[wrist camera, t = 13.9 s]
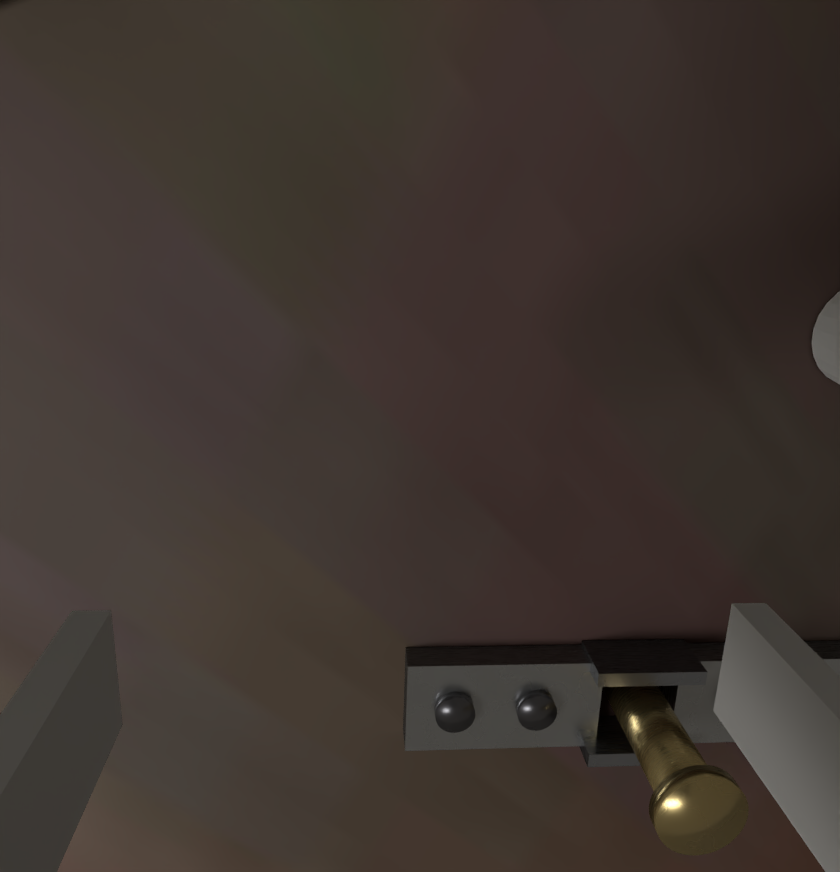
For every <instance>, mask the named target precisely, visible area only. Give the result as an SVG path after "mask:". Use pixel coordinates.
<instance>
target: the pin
mask: <svg viewBox="0 0 840 872" xmlns="http://www.w3.org/2000/svg"><path fill="white" fill-rule="evenodd" d="M604 692H605V695H606V697H607V699H608V701H609V703H610V705H611V707H612V709H613V711H614V713H615V715H616V717H617V719H618V721H619V723H620V725H621V727H622V729H623V731H624V733H625V735H626V737H627V739H628V741H629V743H630V745H631V747H632V749H633V751H634V753H635V755H636V757H637V759H638V761H639V763H640V765H641V767H642V769H643V771H644V773H645V775H646V777H647V779H648V781H649V783H650V785H651V787H652V789H653V791H654V793H653V794H652V797H651V799H650V804H649V815H650V818H651V821H652V823H653V825H654V827H655V829H656V831H657V834H658V836H659V838H660V839H661V841H662V842H663V843H664V844H665V846H667V847H668V848H669V849H671V850H673V851H675V852H677V853H680V854H685V855H703V854H708V853H711V852H714V851H716V850H719V849H721V848H723V847H724V846H726V845H727V844H729V843H730V842H731V841H733V840H734V839H735V838H736V837H737V836H738V835H739V833H740V832H741V831H742V829H743V827H744V826H745V823H746V821H747V817H748V803H747V800H746V797H745V796H744V794H743V792H742V791H741V789H740V788H739V786H738V785H737V783H736V782H735V780H734V779H733V777H732V776H731V775H730V774H729V773H727V772H726V771H724V770H723V769H720V768H718V767H715V766H710V765H707V764H706V763H705V761H704V760H703V758H702V756H701V755H700V753H699V751H698V750H697V748H696V747H695V745H694V743H693V742H692V740H691V738H690V737H689V735H688V734H687V732H686V730H685V729H684V727H683V726H682V724H681V722H680V721H679V719H678V717H677V716H676V714H675V713H674V711H673V709H672V708H671V706H670V705H669V703H668V701H667V700H666V698H665V696H664V695H663V693H662V692H661V690H660V688H659V687H658V686H628V687H604Z"/></svg>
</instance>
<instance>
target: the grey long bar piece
mask: <svg viewBox="0 0 840 872" xmlns="http://www.w3.org/2000/svg"><path fill="white" fill-rule="evenodd" d="M804 642H805V643H806V644H807V645H808V646H809V647H810V648H811V649H812V650H814V651H815V652H816V653H817V654H818V655H819V656H820V657H821V658H822V659H823V660H824V661H825V662H826V663H827V664H828V665H829V666H830V667H831V668H832V669H833V670H834V671H835V672H836V673H837V674H838V675H839V676H840V641H804ZM724 646H725V643H686V642H685V641H684V639H659V640H593V641H582V645H539V646H475V647H411V648H406V654H405V686H404V717H403V734H404V745H405V751H417V750H453V749H489V748H526V747H562V746H579V747H580V749H581V752H582V754H583V757H584V759H585V762H586V764H587V766H588V767H604V766H638V765H640V763H639V761H638V759H637V757H636V755H635V753H634V751H633V749H632V747H631V745H630V743H629V741H628V739H627V737H626V735H625V733H624V731H623V729H622V727H621V725H620V723H619V721H618V719H617V717H616V716H600V717H599V711H600V703H601V695H602V687H628V686H663V687H662V693H663V695H664V696H665V698H666V700H667V701H668V703H669V705H670V706H671V708H672V709H673V711H674V713H675V714H676V716H677V717H678V719H679V721H680V722H681V724H682V726H683V727H684V729H685V730H686V732H687V734H688V735H689V737H690V738H691V740H692V742H693V743H708V742H735V741H734V740H733V738H732V737H731V735H730V734H729V733H728V731H727V730H726V728H725V727H724V725H723V724H722V722H721V721H720V720H719V718H718V717H717V715H716V714H715V712H714V711H713V709H714V703H715V697H716V692H717V686H718V680H719V675H720V669H721V663H722V658H723V652H724Z"/></svg>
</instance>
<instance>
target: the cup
mask: <svg viewBox="0 0 840 872" xmlns="http://www.w3.org/2000/svg"><path fill="white" fill-rule="evenodd" d="M812 350H813V357H814V359H815V361H816V363H817V366H818V368H819V369H820V370H821V371H822V372H823V373H824V375H825V376H826V377H828V378H829V379H831V380H833V381H835V382H836V383H838V384H840V292H838V293H837V294H836V295H835V296H834V297H833V298H832V299H831V300H830V301H829V302H827V304H826V305H825V307H824V308H823V310H822V311H821V313H820V314H819V316H818V318H817V321H816V324H815V326H814V329H813V336H812Z"/></svg>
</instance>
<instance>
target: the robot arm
mask: <svg viewBox="0 0 840 872" xmlns="http://www.w3.org/2000/svg"><path fill="white" fill-rule="evenodd" d="M713 711H714V712H715V714H716V715H717V717H718V718H719V720H720V721H721V722H722V724H723V725H724V727H725V728H726V730H727V731H728V733H729V734H730V735H731V737H732V738H733V740H734V741H735V743H736V744H737V745H738V747H739V748H740V750H741V751H742V753H743V754H744V756H745V757H746V758H747V760H748V761H749V763H750V764H751V766H752V767H753V768H754V770H755V771H756V773H757V774H758V776H759V777H760V778H761V780H762V781H763V783H764V784H765V786H766V787H767V789H768V790H769V791H770V793H771V794H772V796H773V797H774V799H775V800H776V801H777V803H778V804H779V806H780V807H781V809H782V810H783V812H784V813H785V814H786V816H787V817H788V819H789V820H790V822H791V823H792V824H793V826H794V827H795V829H796V830H797V832H798V833H799V834H800V836H801V837H802V839H803V840H804V842H805V843H806V845H807V846H808V847H809V849H810V850H811V852H812V853H813V855H814V856H815V857H816V859H817V860H818V862H819V863H820V865H821V866H822V868H823V869H824V870H825V872H840V676H839V675H838V674H837V673H836V672H835V671H834V670H833V669H832V668H831V667H830V666H829V665H828V664H827V663H826V662H825V661H824V660H823V659H822V658H821V657H820V656H819V655H818V654H817V653H816V652H815V651H814V650H812V649H811V648H810V647H809V646H808V645H807V644H806V643H805V642H804V641H803V640H802V639H801V638H800V637H799V636H798V635H797V634H796V633H795V632H794V631H793V630H792V629H791V628H790V627H789V626H788V625H787V624H786V623H785V622H784V621H783V620H782V619H781V618H780V617H779V616H778V615H777V614H776V613H775V612H774V611H773V610H772V609H771V608H770V607H769V606H768V605H767V604H766V603H735V604H732V606H731V612H730V618H729V624H728V629H727V635H726V641H725V646H724V652H723V658H722V663H721V669H720V675H719V680H718V686H717V692H716V697H715V703H714V709H713ZM122 725H123V724H122V714H121V704H120V694H119V684H118V674H117V664H116V654H115V644H114V634H113V624H112V614H111V610H104V611H72V612H71V613H70V615H69V616H68V618H67V619H66V620H65V622H64V623H63V625H62V626H61V628H60V629H59V631H58V632H57V633H56V635H55V636H54V638H53V639H52V641H51V642H50V644H49V645H48V646H47V648H46V649H45V651H44V652H43V654H42V655H41V657H40V658H39V659H38V661H37V662H36V664H35V665H34V667H33V668H32V670H31V671H30V672H29V674H28V675H27V677H26V678H25V680H24V681H23V683H22V684H21V685H20V687H19V688H18V690H17V691H16V693H15V694H14V696H13V697H12V698H11V700H10V701H9V703H8V704H7V706H6V707H5V709H4V710H3V711H2V713H1V714H0V872H57V870H58V868H59V866H60V863H61V861H62V859H63V857H64V854H65V852H66V850H67V848H68V845H69V843H70V841H71V839H72V837H73V834H74V832H75V830H76V828H77V825H78V823H79V821H80V819H81V816H82V814H83V812H84V810H85V807H86V805H87V803H88V801H89V798H90V796H91V794H92V792H93V789H94V787H95V785H96V783H97V781H98V778H99V776H100V774H101V772H102V769H103V767H104V765H105V763H106V760H107V758H108V756H109V754H110V751H111V749H112V747H113V745H114V742H115V740H116V738H117V736H118V734H119V731H120V729H121V727H122Z"/></svg>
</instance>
